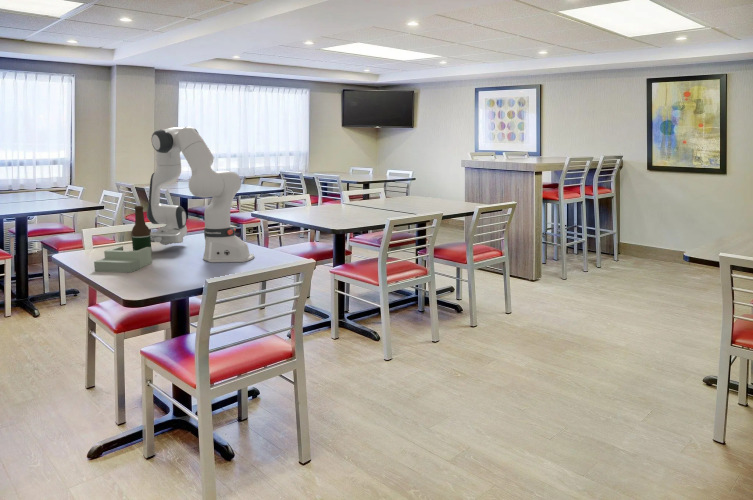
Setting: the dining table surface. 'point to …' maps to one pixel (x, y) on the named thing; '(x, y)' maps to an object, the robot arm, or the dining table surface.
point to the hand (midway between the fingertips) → (151, 240)
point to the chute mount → (123, 260)
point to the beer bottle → (140, 231)
